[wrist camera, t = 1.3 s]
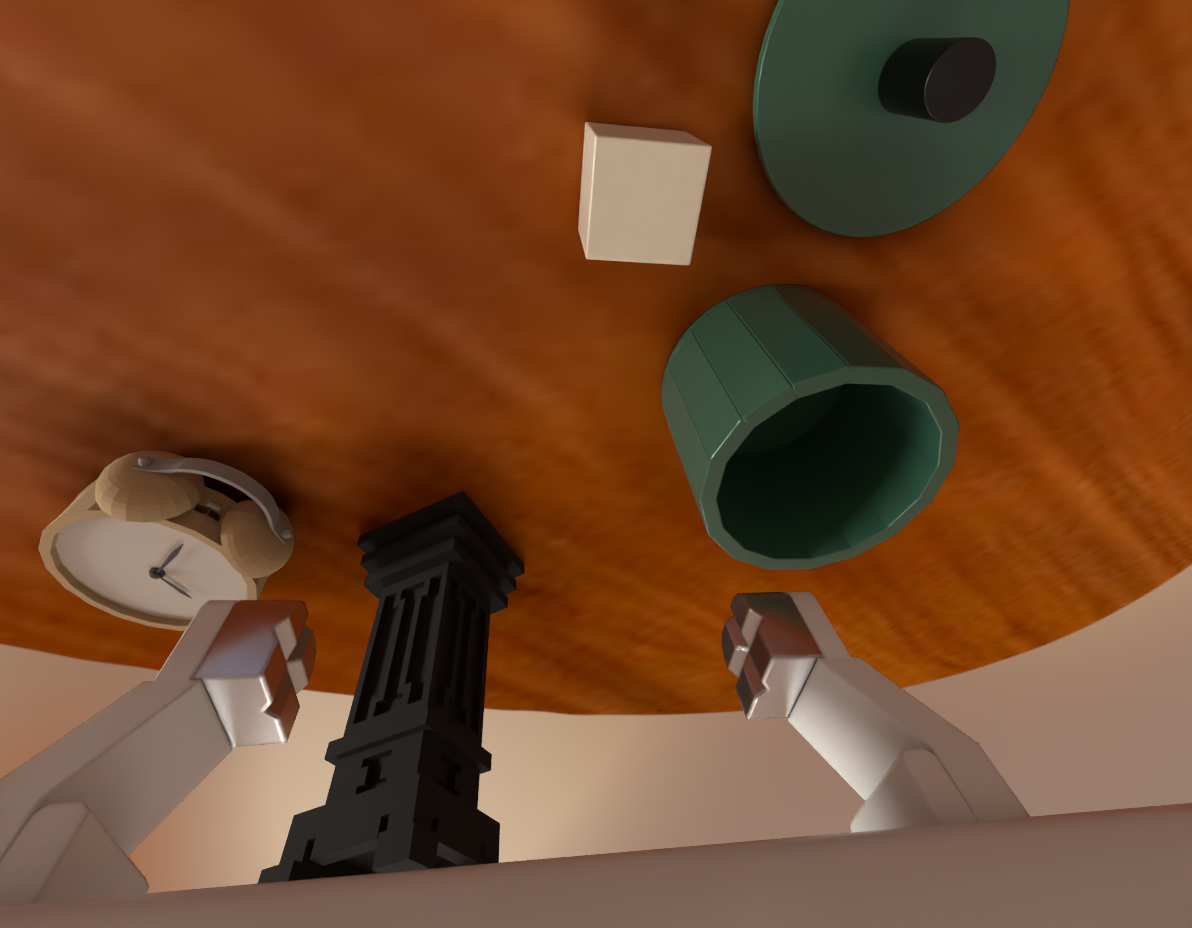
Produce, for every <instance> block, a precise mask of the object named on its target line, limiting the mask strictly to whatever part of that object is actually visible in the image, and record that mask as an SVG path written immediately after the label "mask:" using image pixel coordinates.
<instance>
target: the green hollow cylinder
mask: <svg viewBox="0 0 1192 928" xmlns="http://www.w3.org/2000/svg"><path fill="white" fill-rule="evenodd" d="M662 405H663V409H664V413H665V416H666V419H667V423H668V426H669V430H670V433H671V435H672V438H673V441H674V444H675V446H676V449H677V452H678V454H679V457H680V460H681V463H682V465H683V468H684V471H685V473H686V476H687V479H688V482H689V484H690V487H691V490H692V492H693V495H694V498H695V501H696V503H697V506H698V509H699V512H700V514H701V517H702V520H703V522H704V525H705V528H706V531H707V533H708V535H709V536H710V537H711V538H712V539H713V540H714V541H715V542H716V543H717V544H718V545H720V546H721V547H722V548H723V549H724V550H725V551H726V552H727V553H728V554H729V555H730V556H731V557H732V558H734V559H737V560H740V561H743V562H746V563H749V564H753V565H756V566H759V567H762V568H765V569H810V568H811V569H813V568H816V567H820V566H824V565H827V564H831V563H834V562H838V561H842V560H845V559H849V558H852V557H854V556H857V555H859V554H861V553H863V552H865V551H866V550H868V549H870V548H872V547H874V546H876V545H877V544H879V543H881V542H883V541H885V540H887V539H888V538H890V537H892V536H894V535H896V533H898V532H899V531H900V530H901V529H902V528H903V527H905V526H906V525H907V524H908V523H909V522H910V521H911V520H912V519H913V518H914V517H916V516H917V515H918V514H919V513H920V512H921V511H922V510H923V509H924V508H925V507H926V506H928V505H929V504H930V503H931V501H933V499H934V497H935V496H936V494H937V492H938V491H939V489H940V487H941V486H942V484H943V482H944V480H945V479H946V477H947V475H948V474H949V472H950V470H951V469H952V467H953V465H954V462H955V455H956V447H957V439H958V431H959V422H958V420H957V417H956V415H955V413H954V411H953V409H952V407H951V405H950V403H949V401H948V399H947V397H946V395H945V393H944V391H943V389H942V388H941V387H939V386H938V385H937V384H936V383H935V382H933V381H932V380H931V379H930V378H929V377H927V376H926V375H925V374H924V373H923V372H921V371H920V370H919V369H918V368H917V367H915V366H914V365H913V364H912V363H910V362H909V361H908V360H907V359H906V358H904V357H903V356H902V355H901V354H900V353H898V352H897V351H896V350H895V349H894V348H892V347H891V346H890V345H889V344H888V343H886V342H885V341H884V340H883V339H882V338H880V337H879V336H878V335H877V334H876V333H874V332H873V331H872V330H871V329H869V328H868V327H867V326H866V325H865V324H863V323H862V322H861V321H860V320H859V319H857V318H856V317H855V316H854V315H853V314H851V313H850V312H849V311H848V310H847V309H845V308H844V307H843V306H841V305H839V304H838V303H836V302H834V301H832V300H831V299H830V298H828V297H827V296H825V295H824V294H821V293H819V292H817V291H815V290H813V289H809V288H806V287H802V286H796V285H788V284H781V285H767V286H760V287H756V288H752V289H749V290H745V291H743V292H740V293H738V294H735V295H733V296H731V297H729V298H727V299H725V300H723V301H721V302H719V303H718V304H716V305H715V306H713V307H712V308H711V309H709V310H708V311H706V312H705V313H704V314H703V315H702V316H700V317H699V318H698V319H697V320H696V321H695V322H694V323H693V324H692V325H691V326H690V327H689V328H688V329H687V331H686V332H685V333H684V334H683V336H682V337H681V339H680V340H679V341H678V343H677V344H676V346H675V348H674V350H673V352H672V353H671V355H670V358H669V360H668V363H667V365H666V368H665V372H664V376H663V382H662Z"/></svg>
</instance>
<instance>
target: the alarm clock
mask: <svg viewBox="0 0 1192 928" xmlns="http://www.w3.org/2000/svg"><path fill="white" fill-rule="evenodd" d="M202 475H205V476H208V477H211V478H214V479H217V480H220V481H222V482H225V483H227V484H229V485H231V486H233V487H235V488H237V489H238V490H240V491H242V492H243V493H245V494H246V495H247V496H249V497H250V498H251V499H253V500H246V501H241V502H239V503H236V502H235V501H233V500H232V499H230V498H228V497H227V496H225V495H224V494H222V493H220V492H217V491H215V490H212V489H210V488H207V487H205V485H204V478H203V476H202ZM294 539H295V536H294V530H293V526H292V524H291V521H290V520H289V518H288V517H287V515H286V514H285V513H284V512H283V511H282V510H281V509H280V508H279V507H277V504H276V502H275V500H274V498H273V497H272V496H271V494H270V493H269V492H268V491H267V489H265V488H264V487H263V486H262V485H261V484H259V483H258V482H257V481H256V480H254V479H253V478H251V477H249V476H248V475H246V474H245V473H243V472H241V471H239V470H237V469H235V468H232V467H230V466H228V465H225V464H222V463H219V462H216V461H213V460H207V459H201V458H185V457H183V456H181V455H178V454H175V453H172V452H167V451H159V450H150V451H140V452H135V453H131V454H128V455H125V456H123V457H120V458H118V459H116V460H115V461H113V462H112V463H111V464H109V465H108V466H107V467H105V468H104V470H103V471H102V473H101V474H100V476H99V477H98V479H97V480H95V481H94V482H93V483H91V484H90V485H89V486H88V487H87V488H85V489H84V490H83V491H82V492H80V493H79V494H78V495H77V497H76V499H75V500H74V501H73V502H72V503H71V504H70V505H69V506H68V507H67V508H66V509H65V510H64V511H63V512H62V513H61V514H60V515H59V517H58V518H57V519H56V520H55V521H53V522H52V523H51V524H50V525H48V526H47V527H46V528H45V529H44V530H43V531H42V535H41V539H40V544H39V548H38V549H39V552H40V554H41V557H42V559H43V562H44V564H45V567H46V569H47V570H48V571H49V572H50V573H51V574H52V575H53V576H54V577H55V578H56V579H57V580H58V581H59V583H60V584H61V585H62V586H63V587H64V588H66V589H67V590H69V591H70V592H72V593H73V594H75V595H76V596H78V597H79V598H81V599H82V600H84V601H85V602H87V603H88V604H90V605H92V606H95V607H97V608H99V609H101V610H104V611H106V612H108V613H110V614H112V615H115V616H117V617H119V618H123V619H126V620H130V621H133V622H137V623H140V624H143V625H147V626H151V627H158V628H165V629H171V630H178V631H186V629H187V627H188V626H189V624H190V623H191V621H192V619H193V618H194V616H195V615H196V613H197V612H198V610H199V608H200V607H201V606H202V605H204V604H205V603H206V602H208V601H209V600H258V599H259V595H260V593H261V591H262V589H263V587H264V585H265V583H266V581H267V579H268V577H269V576H270V575H271V574H272V573H274V572H276V571H277V570H279V569H280V568H282V567H283V566H284V565H285V563H286V562H287V561H288V559H289V558H290V556H291V554H292V551H293V548H294Z"/></svg>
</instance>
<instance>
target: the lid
mask: <svg viewBox="0 0 1192 928" xmlns="http://www.w3.org/2000/svg"><path fill="white" fill-rule="evenodd" d="M1068 8H1069V0H779V1H778V3H777V5H776V7H775V9H774V12H773V14H772V17H771V20H770V22H769V25H768V28H767V30H766V33H765V36H764V40H763V44H762V47H761V51H760V55H759V59H758V64H757V70H756V76H755V82H754V94H753V124H754V135H755V140H756V146H757V151H758V155H759V158H760V161H761V164H762V167H763V170H764V172H765V174H766V177H767V179H768V181H769V183H770V185H771V187H772V188H773V190H774V191H775V193H776V194H777V195H778V197H779V198H780V200H781V201H782V202H783V203H784V204H785V205H786V206H787V207H788V208H789V209H790V210H791V211H792V212H793V213H794V214H796V215H797V216H798V217H800V218H801V219H802V220H804V221H805V222H807V223H808V224H810V225H812V226H814V227H816V228H818V229H820V230H822V231H826V232H829V233H832V234H835V235H841V236H847V237H872V236H880V235H886V234H889V233H893V232H897V231H900V230H904V229H906V228H909V227H911V226H914V225H916V224H919V223H921V222H923V221H925V220H927V219H928V218H930V217H932V216H934V215H936V214H938V213H939V212H941V211H942V210H944V209H945V208H947V207H948V206H950V205H951V204H953V203H954V202H956V201H957V200H958V199H960V198H961V197H962V196H963V195H965V194H966V193H967V192H968V191H970V190H971V189H972V188H973V187H974V186H975V185H976V184H977V183H978V182H979V181H980V180H981V179H982V178H984V177H985V176H986V175H987V174H988V173H989V172H990V170H991V169H992V168H993V167H994V166H995V165H996V164H997V163H998V161H999V160H1000V159H1001V158H1002V157H1003V156H1004V155H1005V153H1006V152H1007V151H1008V149H1009V148H1010V147H1011V145H1012V144H1013V143H1014V141H1015V140H1016V139H1017V137H1018V136H1019V134H1020V133H1021V131H1022V130H1023V128H1024V126H1025V125H1026V123H1027V122H1028V120H1029V119H1030V117H1031V115H1032V114H1033V112H1034V110H1035V108H1036V106H1037V104H1038V102H1039V100H1040V98H1041V96H1042V95H1043V93H1044V90H1045V88H1046V86H1047V83H1048V81H1049V78H1050V76H1051V74H1052V71H1053V69H1054V66H1055V63H1056V60H1057V57H1058V54H1059V51H1060V48H1061V44H1062V40H1063V36H1064V31H1065V27H1066V22H1067V17H1068Z"/></svg>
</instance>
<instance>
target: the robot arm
mask: <svg viewBox="0 0 1192 928" xmlns="http://www.w3.org/2000/svg"><path fill="white" fill-rule="evenodd" d="M730 607H731V609H732V611H733V614H734V615H733V616H732V617H731V618H729V619H728V620H727V621H726V622H725V625H724V628H723V632H722V649H723V654H724V659H725V661H726V664H727V667H728V669H729V670H730V671H731V672H733V673H734V674H735V675H736V676H737V677H738V678H739V680H738V682H737V685H736V688H735V689H736V692H737V694H738V697H739V700H740V702H741V705H742V708H743V710H744V713H745V716H746V719H771V718H789V719H788V721H789V722H790V723H791V724H792V725H793V726H794V727H795V728H796V729H797V730H798V732H799V733H800V734H801V735H802V736H803V737H804V738H805V739H806V740H807V741H808V742H809V743H810V744H811V745H812V746H813V747H814V748H815V749H816V750H817V751H818V752H819V753H820V754H821V755H822V756H823V758H824V759H825V760H826V761H827V762H828V763H829V764H830V765H831V766H832V767H833V768H834V769H835V770H836V771H837V772H838V773H839V774H840V775H841V776H842V777H843V778H844V779H845V780H846V781H847V783H848V784H849V785H850V786H851V787H852V788H853V789H854V790H855V791H856V792H858V794H859V795H860V796H861V797H862V798H863V799H864V800H865V803H864V804H863V806H862V807H861V808H860V810H859V811H858V813H857V814H856V816H855V817H854V818H853V820H852V822H851V825H850V829H851V831H852V832H851V833H841V834H829V835H817V836H806V837H794V838H782V839H770V840H759V841H747V842H736V843H724V844H713V845H700V846H689V847H677V848H665V849H655V850H642V851H631V852H619V853H607V854H596V855H585V856H574V857H561V858H551V859H550V858H549V859H538V860H526V861H515V862H503V863H492V864H480V865H469V866H457V867H445V868H434V869H422V870H411V871H399V872H388V873H376V874H365V875H353V876H342V877H330V878H319V879H307V880H296V881H284V882H273V883H261V884H250V885H239V886H227V887H216V888H204V889H192V890H182V891H170V892H158V893H147V891H148V888H149V885H148V882H147V880H146V878H145V876H144V875H143V874H142V873H141V871H140V870H139V869H138V868H137V867H136V865H135V864H134V863H133V862H132V861H131V859H130V858H129V857H128V856H129V854H131V853H132V852H133V850H134V849H136V847H138V845H139V844H140V843H141V842H142V841H143V840H144V839H145V838H146V837H147V836H148V835H149V834H150V833H151V832H152V831H153V830H154V829H155V828H156V827H157V826H158V825H159V824H160V823H161V822H162V821H163V820H164V819H165V818H166V817H167V816H168V815H169V814H170V813H171V812H172V811H173V810H174V809H175V808H176V807H177V806H178V805H179V804H180V803H181V802H182V801H183V799H185V798H186V797H187V796H188V794H190V793H191V791H192V790H194V789H195V787H196V786H198V785H199V783H200V782H201V781H202V780H203V779H204V778H205V777H206V776H207V775H208V774H209V773H210V772H211V771H212V770H213V769H214V768H215V767H216V766H217V765H218V764H219V763H220V762H221V761H222V760H223V759H224V758H225V757H226V756H227V755H228V754H229V753H230V752H231V751H232V747H236V746H248V745H261V744H275V743H286V742H287V740H288V738H289V735H290V732H291V729H292V727H293V724H294V721H295V719H296V716H297V713H298V710H299V708H300V706H299V702H298V699H297V696H296V694H297V693H298V692H299V691H300V690H302V689H303V688H304V687H305V686H306V685H307V684H308V683H309V680H310V677H311V674H312V671H313V666H314V660H315V654H316V649H315V638H314V634H313V631H312V630H310V629H309V628H308V627H306V626H305V625H304V624H305V622H306V619H307V617H308V611H307V608H306V605H305V602H304V601H300V600H209V601H208V602H206V603H205V604H204V605H202V606H201V607H200V608H199V610H198V612H197V613H196V615H195V616H194V618H193V619H192V621H191V623H190V624H189V626H188V627H187V629H186V631H185V632H184V634H183V635H182V637H181V638H180V640H179V642H178V643H177V645H176V646H175V648H174V650H173V651H172V653H171V654H170V656H169V657H168V659H167V661H166V662H165V664H164V665H163V667H162V669H161V670H160V672H159V673H158V675H157V677H156V678H155V680H154V681H147V682H142V683H141V684H139V685H138V686H137V687H135V688H134V689H132V690H131V691H129V692H128V693H126V694H125V695H123V696H122V697H120V698H119V699H117V700H116V701H115V702H113V703H111V704H110V705H109V706H107V707H106V708H104V709H103V710H101V711H100V712H98V713H97V714H95V715H94V716H92V717H91V718H89V719H88V720H87V721H85V722H84V723H82V724H81V725H79V726H78V727H77V728H75V729H73V730H72V731H71V732H69V733H68V734H66V735H64V736H63V737H62V738H60V739H59V740H57V741H56V742H54V743H53V744H51V745H50V746H48V747H47V748H46V749H44V750H43V751H41V752H40V753H38V754H37V755H35V756H34V757H32V758H31V759H29V760H28V761H26V762H25V763H23V764H22V765H21V766H19V767H18V768H16V769H15V770H13V771H12V772H10V773H9V774H7V775H6V776H4V777H3V778H1V779H0V928H1192V803H1185V804H1175V805H1174V804H1173V805H1162V806H1150V807H1139V808H1127V809H1115V810H1105V811H1093V812H1081V813H1069V814H1058V815H1047V816H1035V817H1030V816H1029V814H1028V812H1027V811H1026V810H1025V808H1024V807H1023V805H1022V804H1021V803H1020V801H1019V800H1018V798H1017V797H1016V796H1015V794H1014V793H1013V791H1012V790H1011V788H1010V787H1009V786H1008V784H1007V783H1006V781H1005V780H1004V779H1003V777H1002V776H1001V775H1000V773H999V772H998V770H997V769H996V767H995V766H994V765H993V763H992V762H991V760H990V759H989V758H988V756H987V755H986V754H985V752H984V750H983V749H982V748H981V746H980V745H979V743H977V742H976V741H974V740H973V739H972V738H970V737H969V736H967V735H966V734H965V733H963V732H962V731H961V730H959V729H958V728H956V727H955V726H954V725H952V724H951V723H949V722H948V721H947V720H945V719H944V718H942V717H941V716H940V715H938V714H937V713H935V712H934V711H933V710H931V709H930V708H928V707H927V706H926V705H924V704H923V703H921V702H920V701H919V700H917V699H916V698H914V697H913V696H912V695H910V694H909V693H907V692H906V691H905V690H903V689H902V688H900V687H899V686H898V685H896V684H895V683H893V682H892V681H891V680H889V679H888V678H887V677H885V676H884V675H882V674H881V673H880V672H878V671H877V670H875V669H874V668H873V667H871V666H870V665H868V664H867V663H866V662H864V661H863V660H861V659H860V658H859V657H851V656H850V655H849V653H848V651H847V650H846V648H845V646H844V645H843V643H842V641H841V640H840V638H839V636H838V635H837V633H836V631H835V630H834V628H833V626H832V625H831V623H830V621H829V620H828V618H827V616H826V615H825V613H824V611H823V610H822V608H821V606H820V605H819V603H818V601H817V600H816V598H815V597H814V595H813V594H811V593H810V592H784V593H783V592H765V593H738V594H737V595H736V596H735V597H734V598H733V601H732V604H731V606H730Z"/></svg>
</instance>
